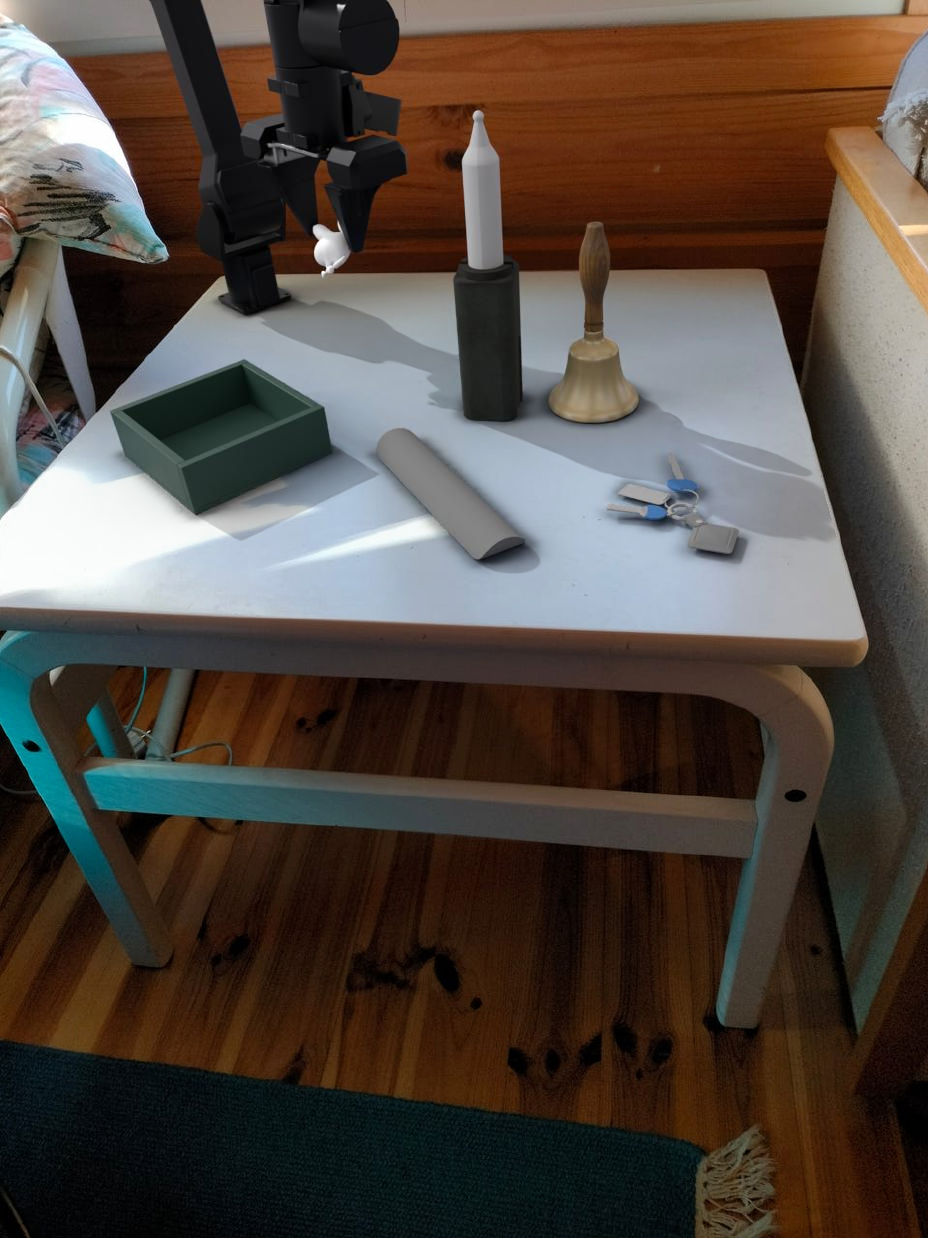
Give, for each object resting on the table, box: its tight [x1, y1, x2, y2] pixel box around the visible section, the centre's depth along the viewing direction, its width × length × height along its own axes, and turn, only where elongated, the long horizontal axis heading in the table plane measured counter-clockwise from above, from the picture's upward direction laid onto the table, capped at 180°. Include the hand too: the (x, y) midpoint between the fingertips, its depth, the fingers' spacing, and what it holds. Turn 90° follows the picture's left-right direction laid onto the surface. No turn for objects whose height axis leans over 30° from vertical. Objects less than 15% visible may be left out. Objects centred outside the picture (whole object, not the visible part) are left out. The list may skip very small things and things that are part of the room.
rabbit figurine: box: [313, 221, 351, 279], centre depth 92 cm, size 6×4×8 cm
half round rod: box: [375, 427, 527, 560], centre depth 78 cm, size 4×20×2 cm, turn 28°
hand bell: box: [547, 221, 640, 424], centre depth 84 cm, size 8×8×16 cm
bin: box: [109, 358, 333, 516], centre depth 84 cm, size 14×14×4 cm
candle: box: [452, 110, 524, 422], centre depth 81 cm, size 5×5×25 cm
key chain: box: [605, 452, 740, 555], centre depth 74 cm, size 14×8×1 cm, turn 15°
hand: (335, 243), depth 93 cm, fingers closed on rabbit figurine, 7 cm apart
